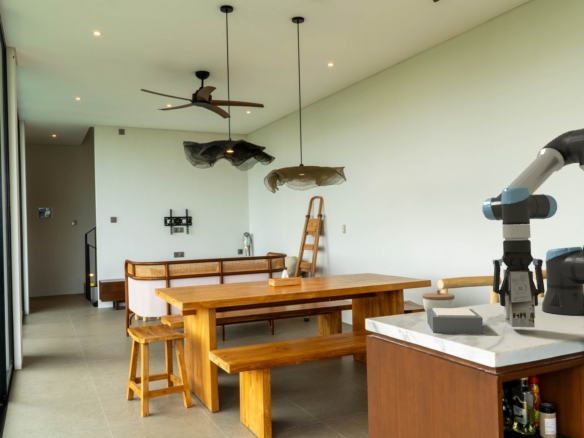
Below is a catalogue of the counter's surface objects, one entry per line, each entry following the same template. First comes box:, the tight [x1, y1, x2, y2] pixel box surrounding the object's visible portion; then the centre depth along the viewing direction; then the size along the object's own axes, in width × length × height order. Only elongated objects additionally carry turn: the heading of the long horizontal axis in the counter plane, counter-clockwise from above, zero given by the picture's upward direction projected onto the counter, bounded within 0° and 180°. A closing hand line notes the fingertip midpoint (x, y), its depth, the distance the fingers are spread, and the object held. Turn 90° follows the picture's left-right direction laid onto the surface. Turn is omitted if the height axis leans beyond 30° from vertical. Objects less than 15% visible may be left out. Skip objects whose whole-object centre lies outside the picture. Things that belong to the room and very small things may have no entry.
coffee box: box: [502, 269, 535, 328], centre depth 146 cm, size 9×6×16 cm
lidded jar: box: [422, 289, 455, 314], centre depth 172 cm, size 11×11×9 cm
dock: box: [426, 307, 484, 335], centre depth 152 cm, size 14×16×5 cm
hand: (519, 317), depth 146 cm, fingers closed on coffee box, 6 cm apart
